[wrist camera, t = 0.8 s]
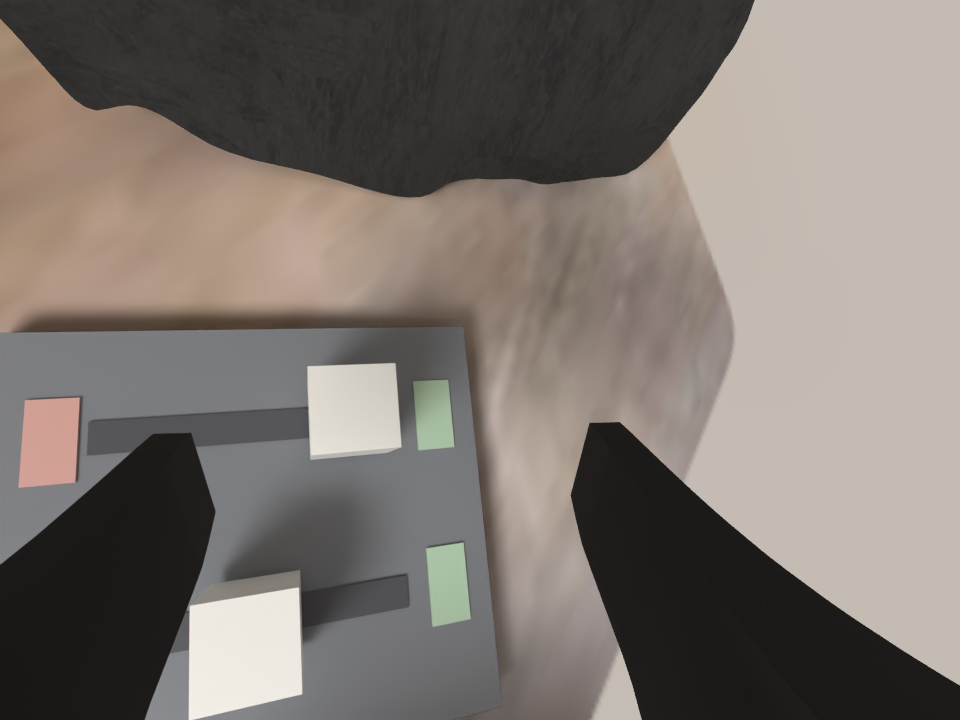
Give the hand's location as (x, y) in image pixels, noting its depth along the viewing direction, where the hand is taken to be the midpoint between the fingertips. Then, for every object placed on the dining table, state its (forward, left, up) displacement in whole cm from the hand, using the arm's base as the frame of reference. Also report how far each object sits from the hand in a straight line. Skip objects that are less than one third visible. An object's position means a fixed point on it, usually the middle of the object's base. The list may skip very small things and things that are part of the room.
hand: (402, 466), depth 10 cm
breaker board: (-2, +4, -14) cm, 14 cm away
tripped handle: (-5, +4, -12) cm, 13 cm away
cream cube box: (+2, 0, -12) cm, 12 cm away
